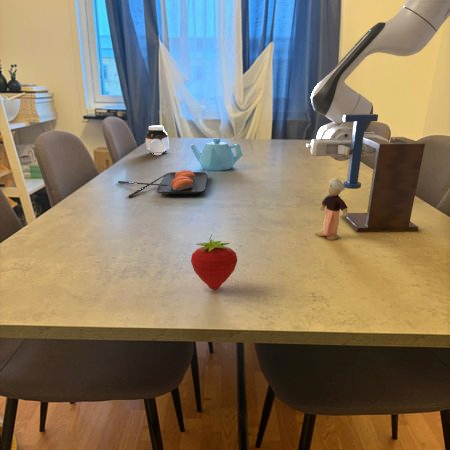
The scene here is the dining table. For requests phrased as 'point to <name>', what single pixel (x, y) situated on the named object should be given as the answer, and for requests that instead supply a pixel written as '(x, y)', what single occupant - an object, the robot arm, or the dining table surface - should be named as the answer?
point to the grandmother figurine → (333, 209)
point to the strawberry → (214, 263)
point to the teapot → (217, 155)
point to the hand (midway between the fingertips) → (357, 151)
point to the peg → (356, 146)
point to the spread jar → (157, 140)
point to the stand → (391, 186)
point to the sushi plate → (178, 183)
